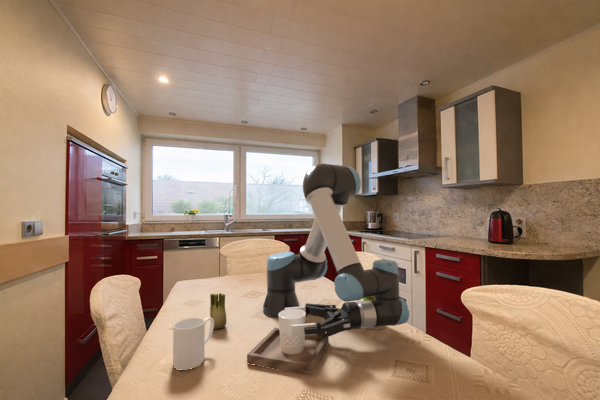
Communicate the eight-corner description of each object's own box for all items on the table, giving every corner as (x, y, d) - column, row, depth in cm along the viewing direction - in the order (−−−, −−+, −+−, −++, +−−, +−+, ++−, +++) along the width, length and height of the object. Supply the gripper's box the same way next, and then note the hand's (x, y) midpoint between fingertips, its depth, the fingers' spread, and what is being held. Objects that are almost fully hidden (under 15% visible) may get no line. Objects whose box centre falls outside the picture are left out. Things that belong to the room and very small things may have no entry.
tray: (247, 364, 71) (247, 354, 71) (275, 335, 88) (274, 327, 88) (312, 376, 65) (311, 365, 66) (328, 342, 82) (328, 334, 83)
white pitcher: (185, 374, 67) (186, 331, 68) (166, 366, 71) (167, 325, 72) (222, 352, 77) (222, 315, 78) (203, 346, 81) (204, 311, 82)
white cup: (278, 343, 80) (278, 309, 81) (304, 341, 81) (304, 308, 82) (279, 357, 73) (278, 319, 73) (308, 355, 73) (307, 317, 74)
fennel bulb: (208, 327, 96) (208, 293, 96) (220, 323, 99) (220, 290, 100) (216, 332, 92) (216, 296, 92) (229, 327, 95) (229, 293, 96)
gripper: (377, 347, 68) (295, 356, 64) (343, 312, 93) (282, 318, 89) (376, 317, 69) (294, 324, 65) (343, 290, 93) (282, 295, 89)
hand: (287, 321), depth 77 cm, fingers open, 13 cm apart
